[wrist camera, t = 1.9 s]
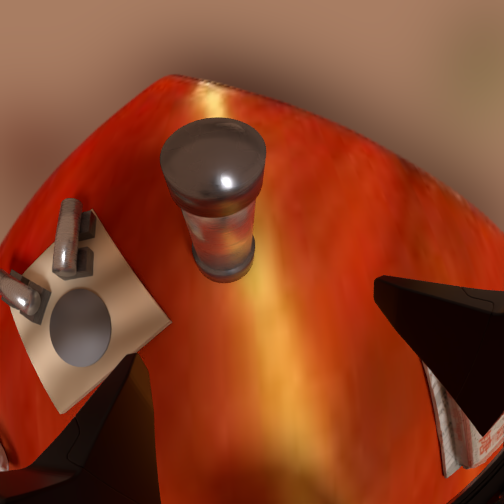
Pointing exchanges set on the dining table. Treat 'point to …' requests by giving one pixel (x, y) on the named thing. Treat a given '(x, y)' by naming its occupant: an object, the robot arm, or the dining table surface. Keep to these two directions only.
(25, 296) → the shaft
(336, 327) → the dining table surface
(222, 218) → the drinking glass
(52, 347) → the board
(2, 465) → the mug
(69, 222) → the shaft
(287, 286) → the dining table surface
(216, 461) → the dining table surface
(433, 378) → the packaged product
